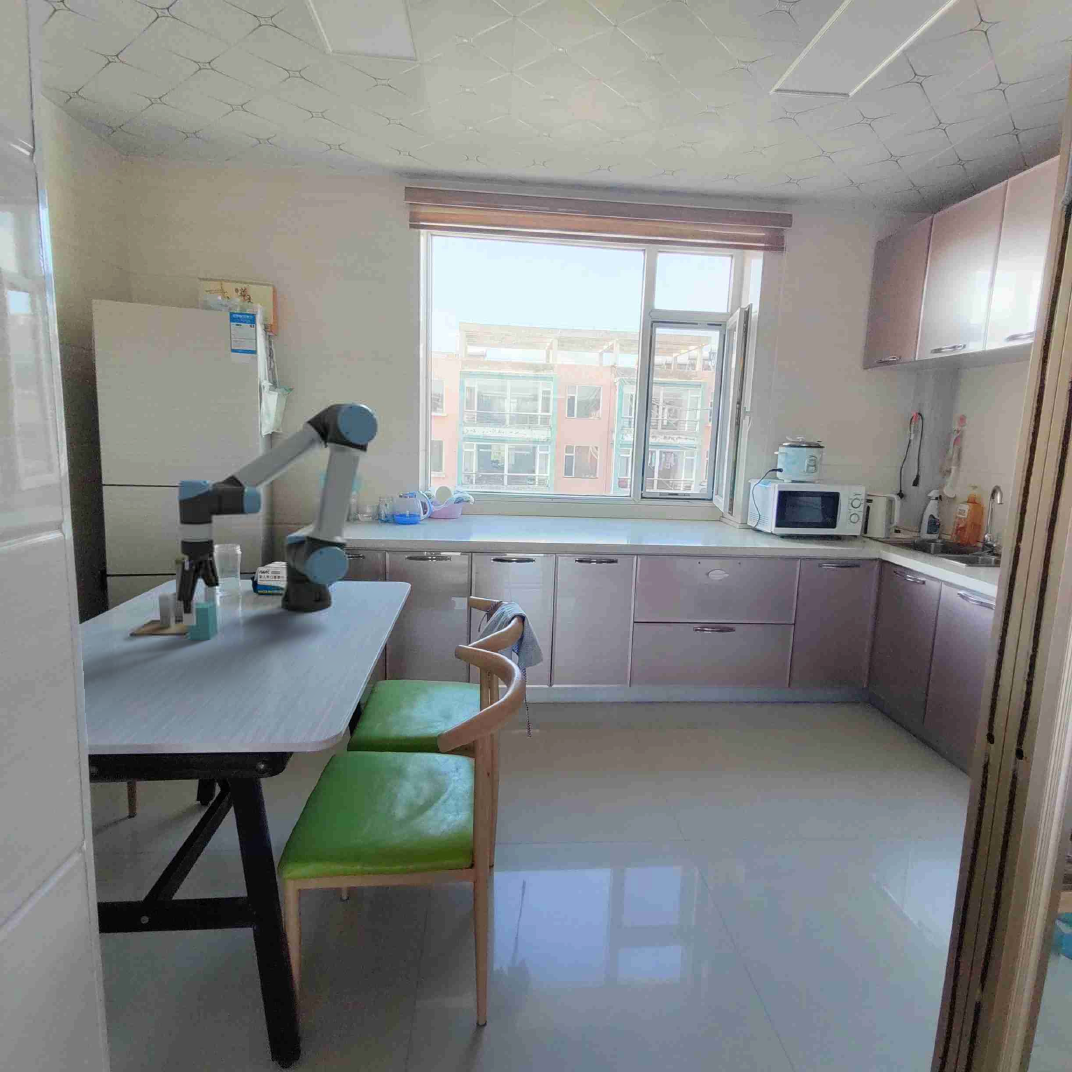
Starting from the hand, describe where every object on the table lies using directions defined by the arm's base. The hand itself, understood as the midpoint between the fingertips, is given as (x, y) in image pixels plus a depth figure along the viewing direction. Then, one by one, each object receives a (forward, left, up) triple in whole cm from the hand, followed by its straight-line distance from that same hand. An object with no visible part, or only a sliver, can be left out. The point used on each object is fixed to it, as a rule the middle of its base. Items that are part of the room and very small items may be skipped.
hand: (200, 617), depth 164 cm
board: (+12, -7, -5) cm, 15 cm away
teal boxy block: (0, 0, -5) cm, 5 cm away
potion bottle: (+12, -16, -5) cm, 20 cm away
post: (+12, -7, -5) cm, 15 cm away
